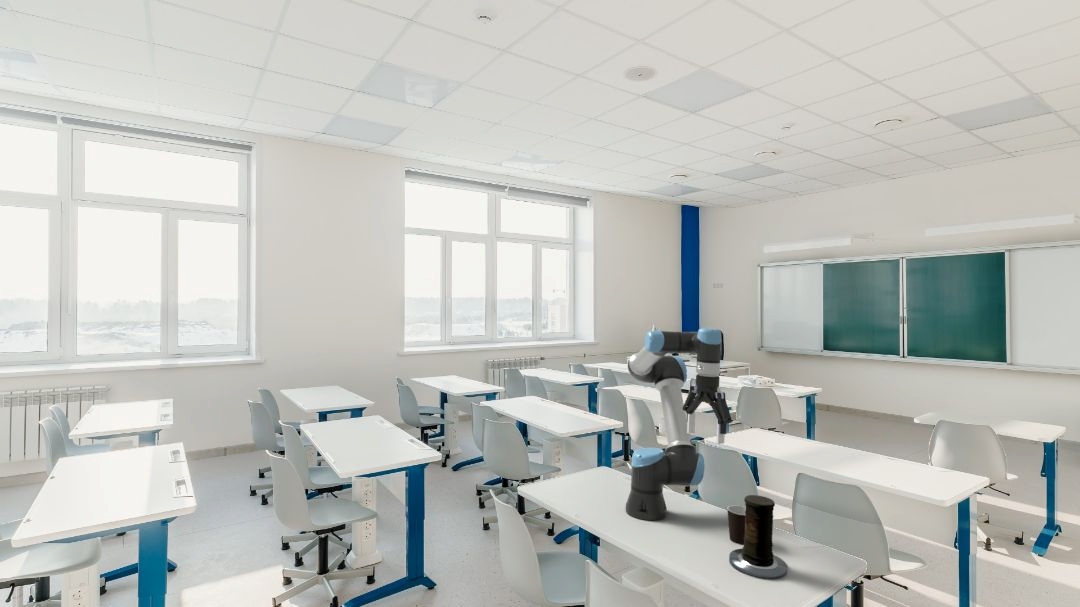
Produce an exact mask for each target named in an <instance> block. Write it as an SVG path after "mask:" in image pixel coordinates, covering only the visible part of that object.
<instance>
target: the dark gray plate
mask: <svg viewBox="0 0 1080 607" xmlns="http://www.w3.org/2000/svg"><path fill="white" fill-rule="evenodd" d="M742 552H743V550H742V548H737V549H734V550H732V551H730V552H729V557H728V558H729V560H728V561H729V564H730V566H732V568H733V569H735V570H737V571H738V572H740V573H743V574H744V575H747V576H749V577H753V578H757V579H763V580H778V579H782V578H785V577H786V576H787V574H788V564H787V563H786V562H785V560H784V559H783V558H780V557H779V556H778V555H776V554H773V555H774V556H773V559H774V563H773V565H771V566H768V567H760V566H755V565H752V564H750V563H748V562H746V561H745V560H744V559H743V558H742Z"/></svg>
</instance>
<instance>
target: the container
mask: <svg viewBox="0 0 1080 607" xmlns="http://www.w3.org/2000/svg"><path fill="white" fill-rule="evenodd" d="M743 501H744V505H745V506H744V507H746V511H745V537H744V545H742V548H741V549H742V550H743V552H742V558H743V559H744V560H745V561H746V562H748V563H750V564H752V565H755V566H760V567H768V566H771V565H773V563H774V559H773V556H774V555H775V554H774V553H773V546H774V544H773V526H774V512H773V511H774V507H775V505H776V503H775V501H774V500H773V499H771V498H769V497H766V496H763V495H756V494H750V495H749V494H748V495H746V496H745V497H744V500H743Z"/></svg>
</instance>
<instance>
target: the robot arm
mask: <svg viewBox="0 0 1080 607" xmlns="http://www.w3.org/2000/svg"><path fill="white" fill-rule="evenodd" d="M722 341H723V339H722V331H721V330H720V329H718V328H708V327H706V328H699V329H698V331H667V330H666V331H665V330H650V331H647V333H646V335H645V337H644V346H643V347H642V348H641V349H640V350H639V351H638V352H635V353H633V354H632V355H631V356H630V358H629V360H628V361H627V370H628V372H629V374H630V375H631V376H632V377H633V378H634V379H635V380H637V381H639V382H642V383H651V384H654V386H655V389H656V391H659V396H660V402H661V407H662V415H663V420H664V421H663V422H664V428H665V432H666V440H667V447H666V448H665V449H662V448H660V447H654V446H651V447H643V448H638V449H636V450H634V451H633V453H632V457H631V463H630V465H631V480H630V492H629V494H628V496H627V500H626V503H625V512H626V514H628V515H629V516H631V517H633V518H635V519H638V520H643V521H660V520H663V519H665V518H666V517H667V516H668V513H667V512H668V507H667V505H666V501H665V497H664V494H663V493H664V492H663V491H664V490H663V488H664V486H681V487H682V486H686V487H690V486H699V485H700V484H701V483H702V481H703V479H704V475H705V470H706V469H705V467H706V465H705V458H704V456H703V455H702V454H701V453H700V452H697V448H696V446H695V445H694V444H692V443H691V437H690V434H694V433H695V430H696V429H695V428H696V412H695V411H696V410H697V409H698V408H699V406H701V404H702V403H706V404H708V405H709V406H710V407H711V408H712V410H713V413H714V415H715V417H716V419H717V421H718V422H717V423H716V441H715V442H716V444H717V445H720V444H725V437H726V436H725V435H726V434H727V424H732V422H733V420H732V416H731V412H730V410H729V407H728V403H727V400H726V393H725V391H723V392H722V391H721V392H719V391H718V389H719V387H720V376H719V375H720V374H721V352H722ZM667 354H670V355H667ZM671 354H690V355H692V354H693V355H694V354H695V355H696V370H695V372H696V374H695V385H690V386H689V393H688V395H687V396H686V400H685V402H684V398H683V394H682V388H683V387H684V384H685V383H686V382H687V378H688V370H687V366H686V364H685V360H683V358H682V357H680V356H677V355H671Z"/></svg>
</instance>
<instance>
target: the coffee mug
mask: <svg viewBox="0 0 1080 607" xmlns="http://www.w3.org/2000/svg"><path fill="white" fill-rule="evenodd" d="M726 509H727V521H728V523H727V524H728V533H729V540H730V541H731V542H733V543H735V544H738V545H742V546H744V537H745V511H746V506H744V505H736V504H735V505H734V504H733V505H729V506H727V507H726Z"/></svg>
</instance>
